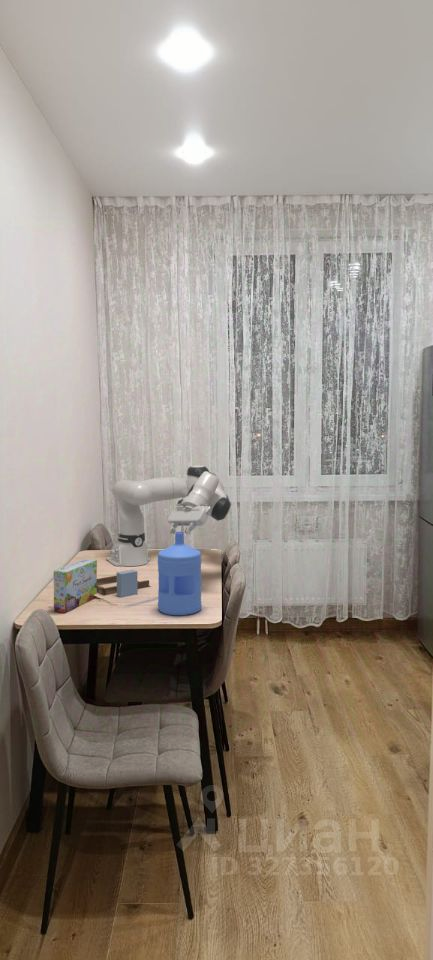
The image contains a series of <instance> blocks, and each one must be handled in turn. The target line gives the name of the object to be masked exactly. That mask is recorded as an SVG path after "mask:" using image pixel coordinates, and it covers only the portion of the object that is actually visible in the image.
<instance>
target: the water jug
mask: <svg viewBox="0 0 433 960" xmlns="http://www.w3.org/2000/svg"><path fill="white" fill-rule="evenodd" d="M184 535H185V532H184V531H183V532H182V531H176V532H175V537H174V540H175V541H174V544H171V545H169V546H168V547H166V548H163V549H162V550H160V551H159V552H158V554H157V572H158V591H157V595H158V601H157V609H158V610H159V612H161V613H162V614H164V615H169V616H187V615H188V614H189V615H192V614H193V613H194V614H197V612H200V610H201V609H202V553H201V551H200V550H198V549H196V548H194V547H192V546H190V545H187V544H185V541H184V540H185V539H184V538H185V537H184Z"/></svg>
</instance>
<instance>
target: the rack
mask: <svg viewBox="0 0 433 960" xmlns="http://www.w3.org/2000/svg"><path fill="white" fill-rule="evenodd" d="M137 583H138V590H140V589H141V590H142V589H145V588H150V587H152V586H151V585H150V580H149V579H147V580H141V581H139V580H137ZM110 584H117V574H116V575H112V576H111V575H110V576H107V577H100V578H97V594H99V595H102V596H110V595H114V594H117V585H114V586H109V587H104V586H105V585H110ZM101 599H102V600H104V598H101Z"/></svg>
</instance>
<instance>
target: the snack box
mask: <svg viewBox="0 0 433 960" xmlns="http://www.w3.org/2000/svg"><path fill="white" fill-rule="evenodd" d="M97 563H98V560H97V559H91V558H84V559H81V560H79V561H75V562H74V563H71V564H68V565H65V566H63V567H60V568H58V569H55V570H53V612H57V613H62V614H67V613H69V612H70V611H72V610H74V609H76V608H79V607H80V606H82V605H84V604H86V603H89V602H91V601H93V600H94V599H97V597H98V596H97V594H98V593H97V579H98V578H97V577H98V571H97V570H98V569H97V567H98V566H97V565H98V564H97Z"/></svg>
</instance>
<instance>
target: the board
mask: <svg viewBox="0 0 433 960" xmlns="http://www.w3.org/2000/svg"><path fill="white" fill-rule="evenodd" d="M116 575H117V582H116V586H117V593H116V596H118V597H119V598H126V597H131V596H136V595H138V593H139V592H138V591H139V589H138V583H137V581H138V571H137V570H135V569H128V570H123V571H117V572H116Z"/></svg>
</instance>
